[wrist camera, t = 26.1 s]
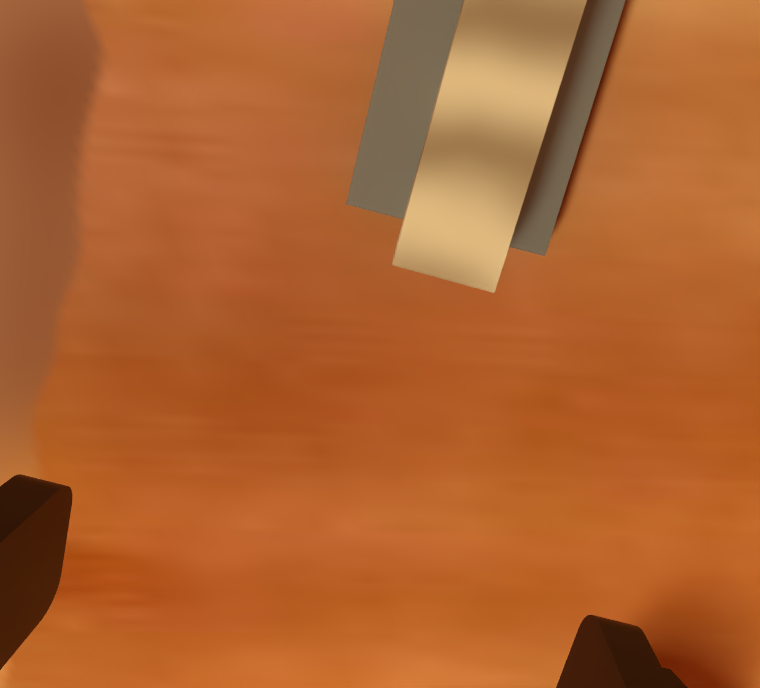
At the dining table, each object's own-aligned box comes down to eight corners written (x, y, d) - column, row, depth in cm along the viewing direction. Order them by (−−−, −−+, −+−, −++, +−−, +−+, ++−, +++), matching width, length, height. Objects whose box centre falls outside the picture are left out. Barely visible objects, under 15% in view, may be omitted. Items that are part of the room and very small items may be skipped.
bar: (534, -260, 31) (558, -341, 26) (639, -229, 31) (683, -304, 26) (394, 252, 36) (391, 264, 32) (483, 277, 37) (494, 293, 32)
